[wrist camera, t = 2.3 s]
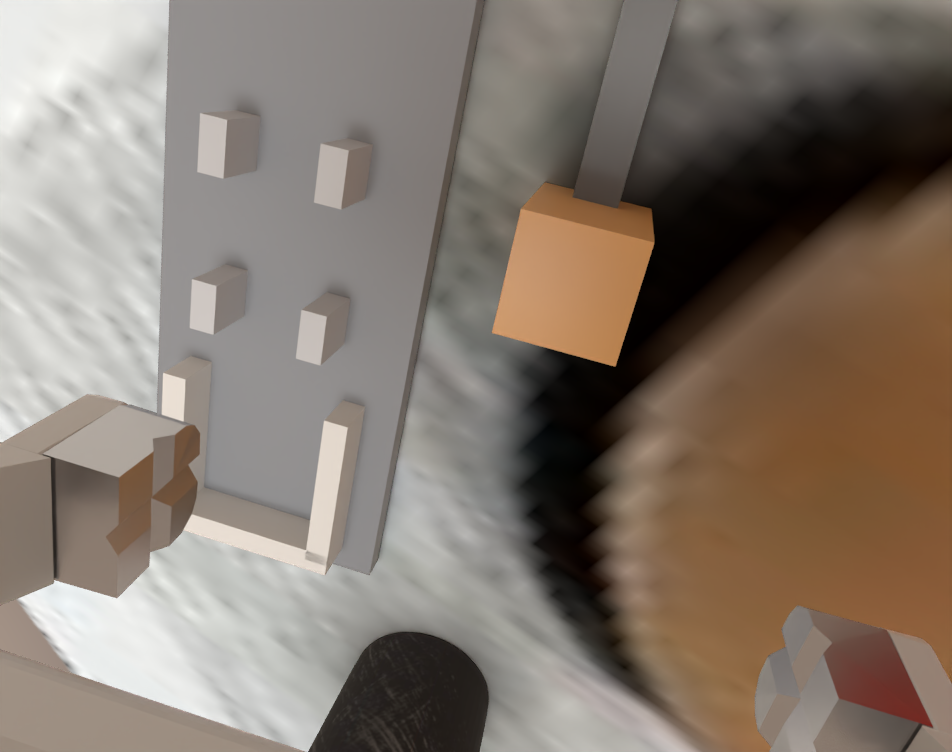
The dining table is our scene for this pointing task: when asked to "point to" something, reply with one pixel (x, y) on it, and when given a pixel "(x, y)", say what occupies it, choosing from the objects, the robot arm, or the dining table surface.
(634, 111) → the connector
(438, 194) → the clip board
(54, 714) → the robot arm
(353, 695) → the travel mug
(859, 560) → the dining table surface
